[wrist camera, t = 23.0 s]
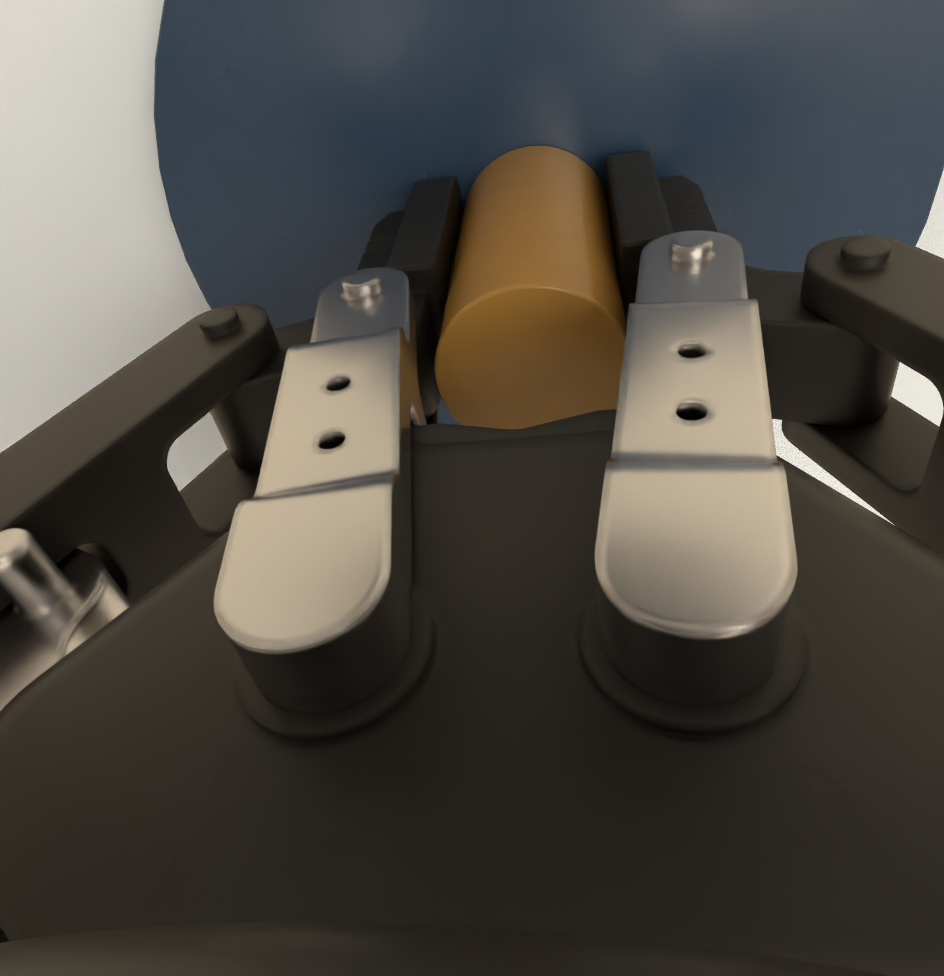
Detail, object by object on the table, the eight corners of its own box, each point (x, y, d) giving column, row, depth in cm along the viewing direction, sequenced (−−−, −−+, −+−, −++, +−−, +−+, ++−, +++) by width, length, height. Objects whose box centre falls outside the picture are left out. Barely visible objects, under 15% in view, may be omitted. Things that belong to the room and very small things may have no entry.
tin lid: (305, 482, 20) (233, 684, 15) (27, -208, 11) (-338, -215, 6) (851, 443, 18) (956, 664, 13) (1053, -449, 9) (1586, -712, 4)
